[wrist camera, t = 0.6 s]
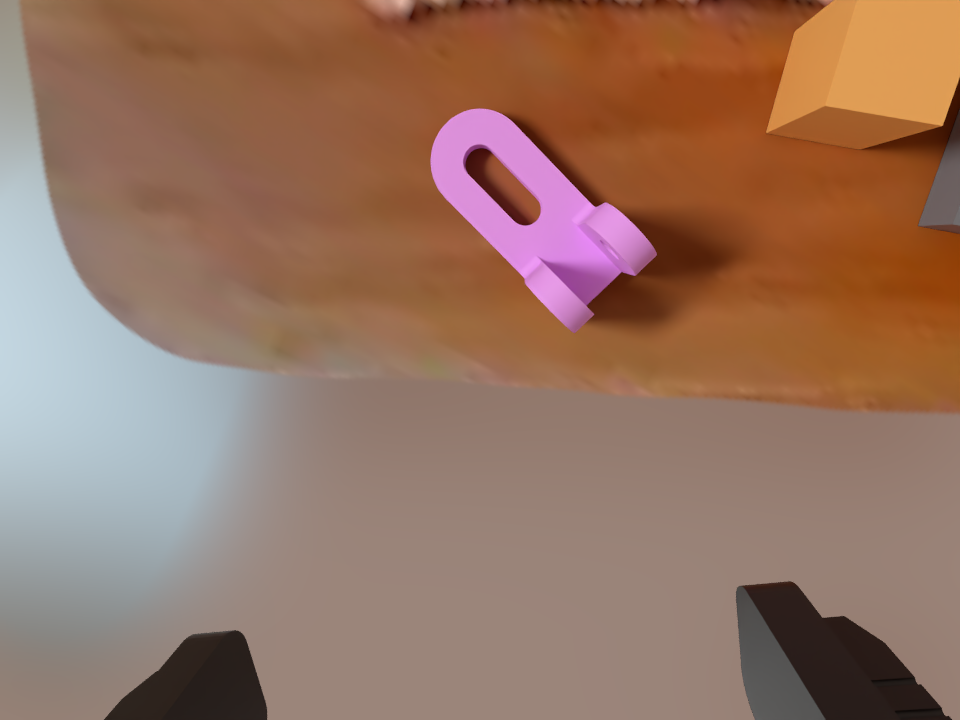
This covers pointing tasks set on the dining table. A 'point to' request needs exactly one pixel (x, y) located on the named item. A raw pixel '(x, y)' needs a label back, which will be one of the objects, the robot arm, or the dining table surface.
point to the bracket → (560, 228)
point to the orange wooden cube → (869, 72)
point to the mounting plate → (945, 189)
